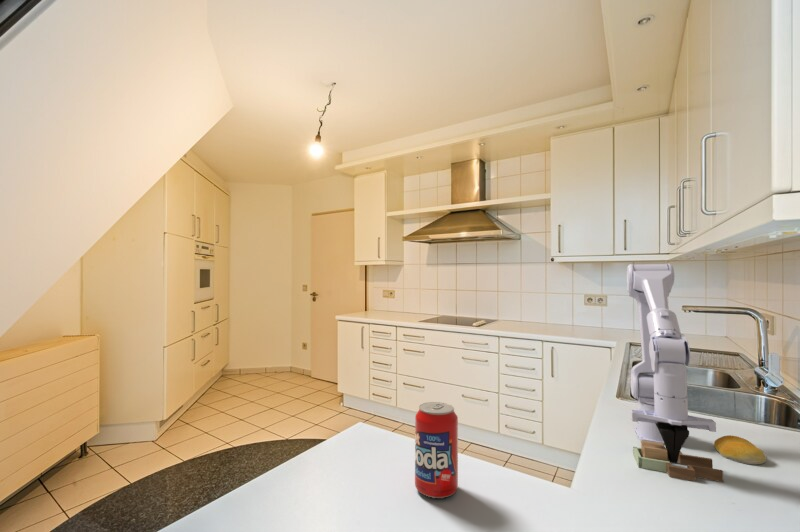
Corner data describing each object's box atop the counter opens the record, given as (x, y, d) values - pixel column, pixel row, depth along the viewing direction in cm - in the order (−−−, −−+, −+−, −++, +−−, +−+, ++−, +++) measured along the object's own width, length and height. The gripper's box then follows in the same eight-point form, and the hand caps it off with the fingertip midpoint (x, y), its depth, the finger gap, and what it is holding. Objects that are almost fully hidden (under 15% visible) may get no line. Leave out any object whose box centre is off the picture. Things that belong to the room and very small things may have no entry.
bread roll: (726, 462, 81) (725, 443, 81) (709, 446, 89) (709, 429, 89) (775, 469, 78) (774, 450, 78) (753, 452, 86) (753, 434, 86)
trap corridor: (631, 452, 85) (631, 443, 85) (708, 464, 79) (707, 454, 79) (640, 471, 76) (640, 461, 76) (727, 486, 70) (726, 476, 70)
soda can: (464, 486, 69) (464, 404, 70) (447, 507, 63) (447, 416, 64) (426, 475, 73) (427, 398, 74) (407, 494, 67) (407, 408, 68)
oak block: (641, 459, 82) (640, 440, 82) (663, 462, 80) (662, 443, 80) (645, 466, 78) (644, 447, 78) (668, 470, 76) (667, 450, 77)
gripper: (633, 395, 78) (635, 461, 77) (720, 404, 72) (724, 476, 71) (628, 387, 84) (629, 448, 83) (707, 395, 79) (710, 461, 78)
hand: (672, 460), depth 78 cm, fingers closed
